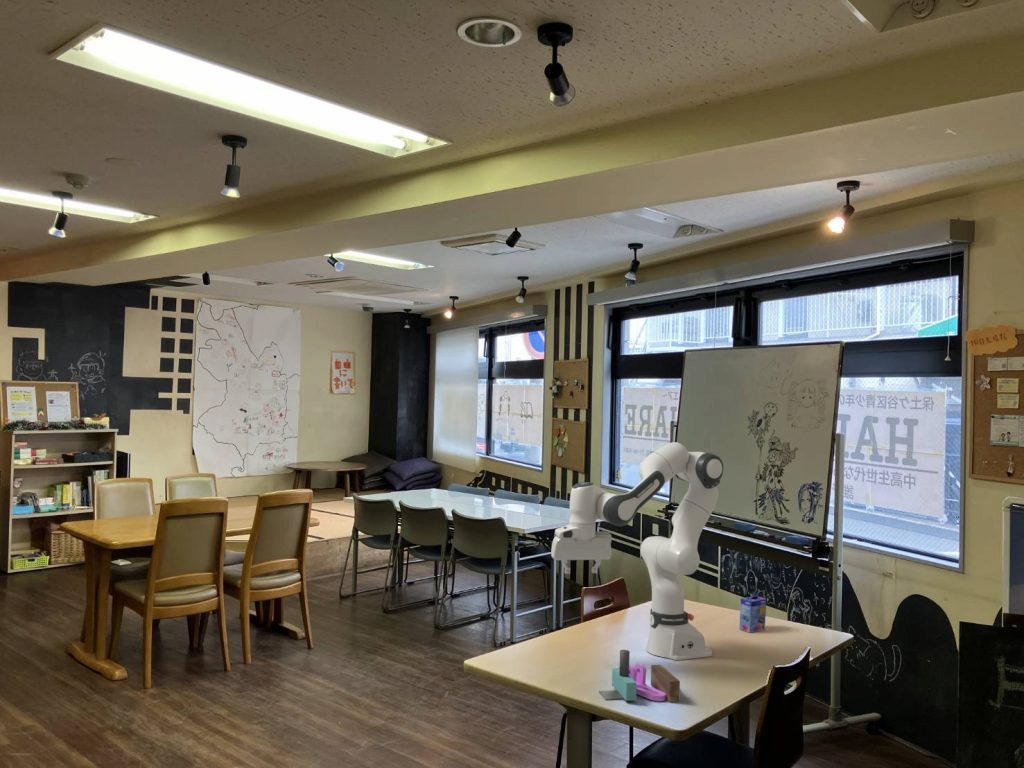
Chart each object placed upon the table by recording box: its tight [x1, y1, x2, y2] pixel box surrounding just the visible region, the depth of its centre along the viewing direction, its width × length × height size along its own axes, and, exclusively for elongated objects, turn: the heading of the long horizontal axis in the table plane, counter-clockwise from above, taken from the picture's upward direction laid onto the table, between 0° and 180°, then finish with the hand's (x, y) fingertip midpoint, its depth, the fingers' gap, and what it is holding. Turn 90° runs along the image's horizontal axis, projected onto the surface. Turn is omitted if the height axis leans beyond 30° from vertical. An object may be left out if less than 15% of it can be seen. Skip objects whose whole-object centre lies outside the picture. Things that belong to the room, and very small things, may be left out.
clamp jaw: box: [611, 649, 637, 702], centre depth 219 cm, size 3×12×12 cm, turn 12°
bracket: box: [629, 663, 666, 702], centre depth 221 cm, size 13×6×7 cm, turn 38°
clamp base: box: [598, 664, 681, 704], centre depth 220 cm, size 21×14×6 cm, turn 102°
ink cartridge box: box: [739, 592, 767, 634], centre depth 290 cm, size 10×6×14 cm, turn 126°
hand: (580, 573), depth 248 cm, fingers open, 8 cm apart
